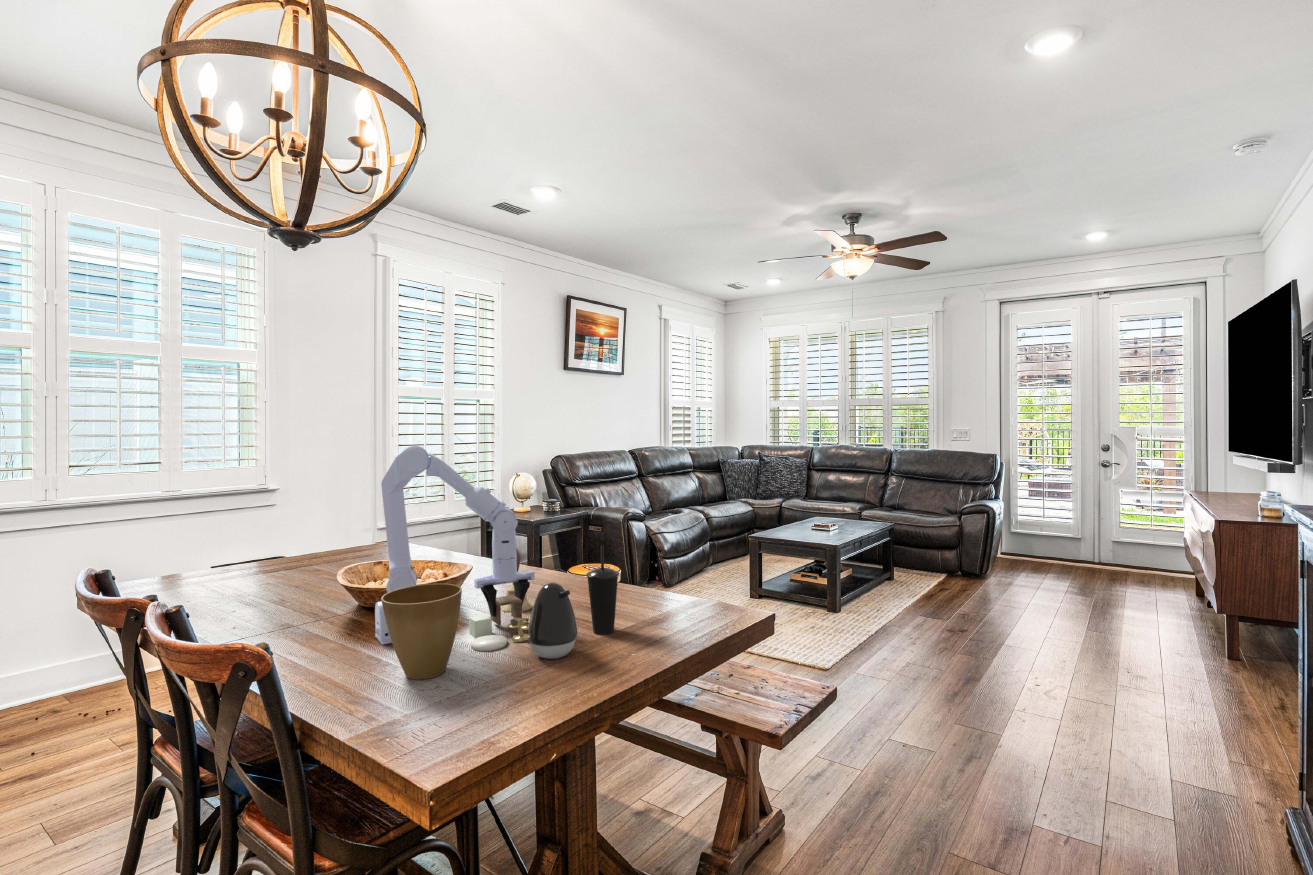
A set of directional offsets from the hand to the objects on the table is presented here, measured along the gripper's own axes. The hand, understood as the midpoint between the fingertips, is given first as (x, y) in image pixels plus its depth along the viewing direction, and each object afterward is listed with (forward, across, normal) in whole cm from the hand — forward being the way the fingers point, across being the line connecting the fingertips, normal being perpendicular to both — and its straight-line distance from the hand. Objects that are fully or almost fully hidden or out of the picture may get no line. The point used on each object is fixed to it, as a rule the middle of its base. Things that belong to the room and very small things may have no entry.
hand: (505, 613), depth 159 cm
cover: (+2, 0, 0) cm, 2 cm away
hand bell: (+3, +8, +12) cm, 14 cm away
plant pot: (+3, -24, -20) cm, 32 cm away
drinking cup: (+3, +16, -19) cm, 25 cm away
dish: (+3, -8, -12) cm, 15 cm away
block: (+3, -8, -4) cm, 9 cm away
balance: (+3, -2, -13) cm, 13 cm away
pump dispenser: (+3, 0, -26) cm, 26 cm away
